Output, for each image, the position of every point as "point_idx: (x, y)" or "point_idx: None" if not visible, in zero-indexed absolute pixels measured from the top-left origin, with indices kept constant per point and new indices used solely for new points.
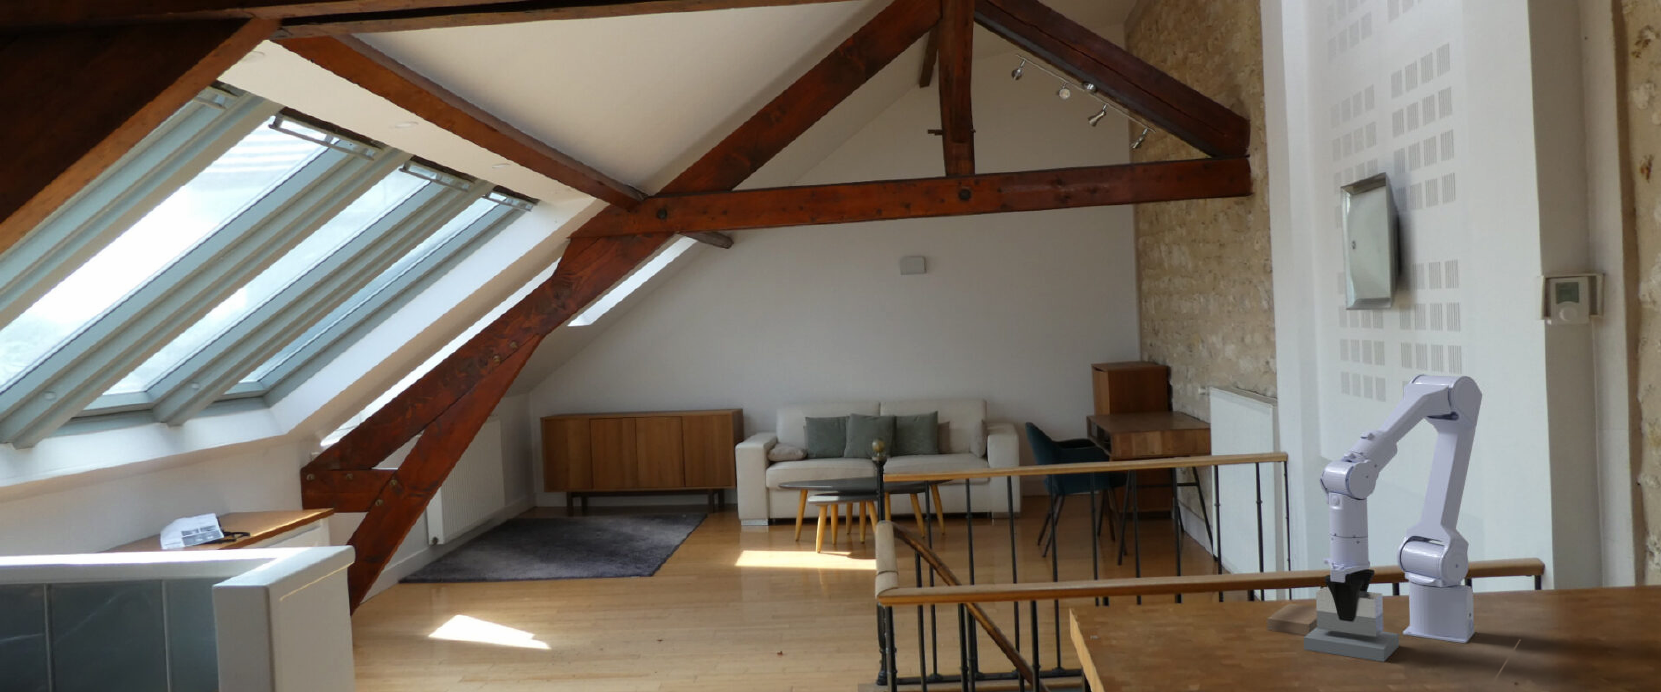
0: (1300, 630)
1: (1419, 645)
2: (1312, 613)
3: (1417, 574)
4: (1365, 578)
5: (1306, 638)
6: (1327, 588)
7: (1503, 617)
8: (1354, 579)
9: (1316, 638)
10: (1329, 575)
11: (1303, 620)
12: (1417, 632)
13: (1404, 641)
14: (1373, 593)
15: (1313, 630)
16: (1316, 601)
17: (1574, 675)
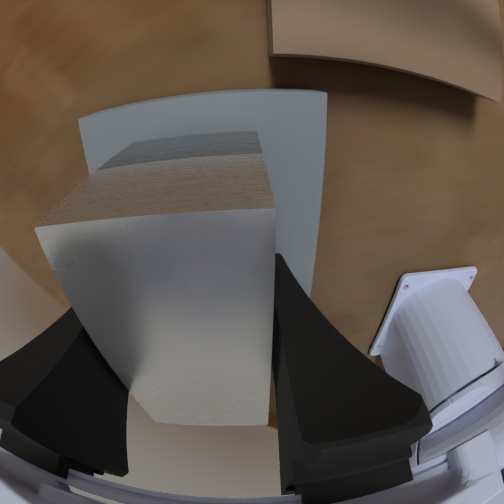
0: (268, 24)
1: (335, 311)
2: (439, 48)
3: (477, 403)
4: (281, 460)
5: (81, 127)
6: (223, 252)
7: (496, 328)
8: (284, 434)
9: (94, 157)
10: (13, 429)
11: (325, 21)
12: (406, 298)
13: (356, 285)
14: (250, 415)
15: (185, 100)
16: (68, 195)
17: (272, 420)
